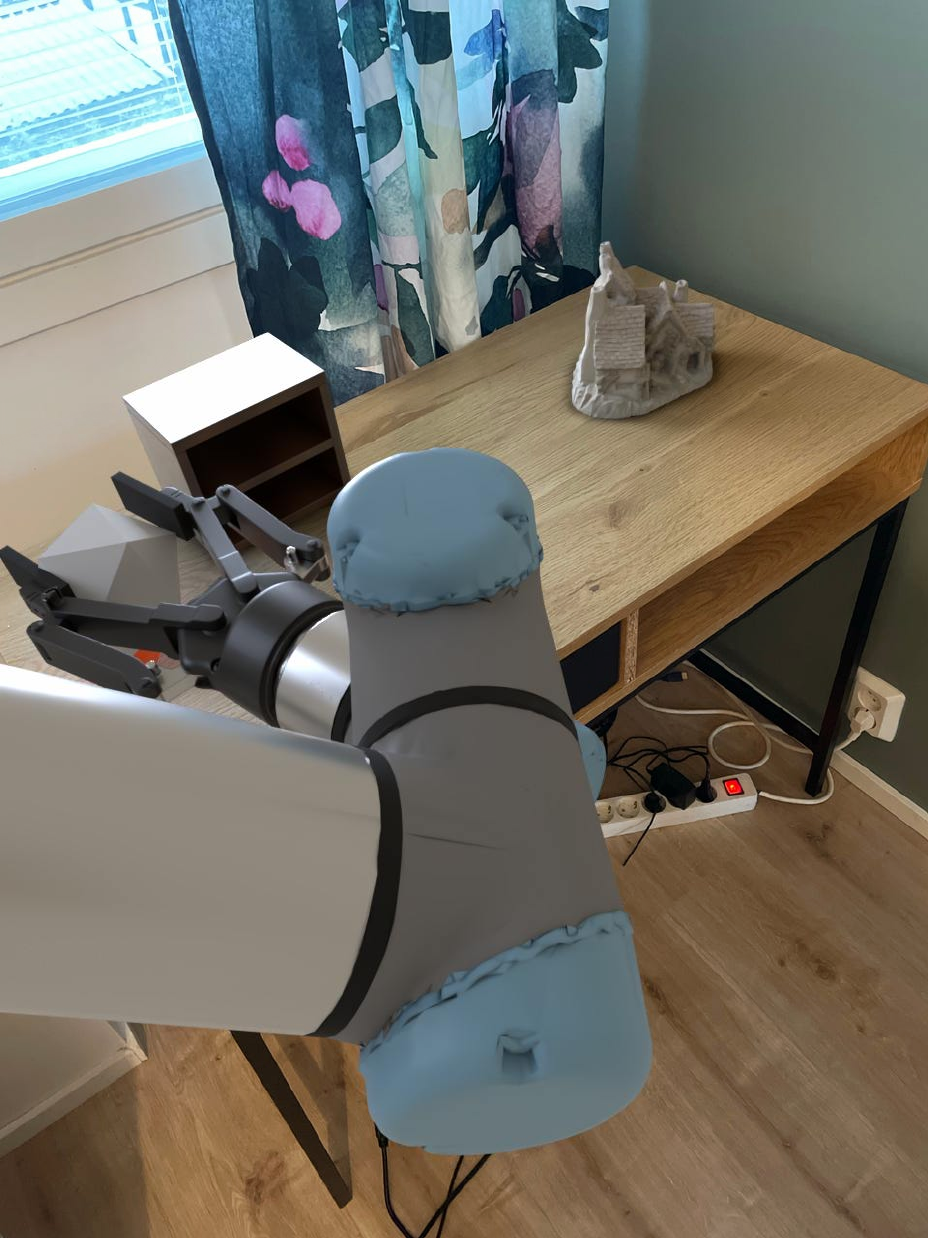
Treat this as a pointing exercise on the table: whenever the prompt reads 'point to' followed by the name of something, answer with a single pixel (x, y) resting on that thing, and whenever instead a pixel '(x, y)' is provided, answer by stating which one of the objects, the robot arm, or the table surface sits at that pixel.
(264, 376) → the shelf
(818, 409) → the table surface
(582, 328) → the table surface
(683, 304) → the ceramic cottage
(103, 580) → the die
